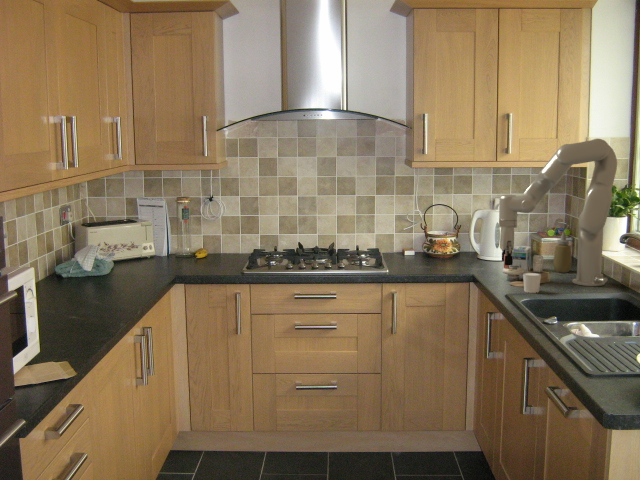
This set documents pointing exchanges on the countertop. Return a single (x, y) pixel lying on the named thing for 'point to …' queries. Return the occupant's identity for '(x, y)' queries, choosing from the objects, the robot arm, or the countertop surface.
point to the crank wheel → (512, 269)
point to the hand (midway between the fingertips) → (507, 263)
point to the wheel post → (513, 277)
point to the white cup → (531, 282)
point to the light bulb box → (522, 257)
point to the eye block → (543, 276)
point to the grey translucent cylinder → (537, 264)
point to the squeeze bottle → (562, 255)
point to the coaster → (517, 284)
